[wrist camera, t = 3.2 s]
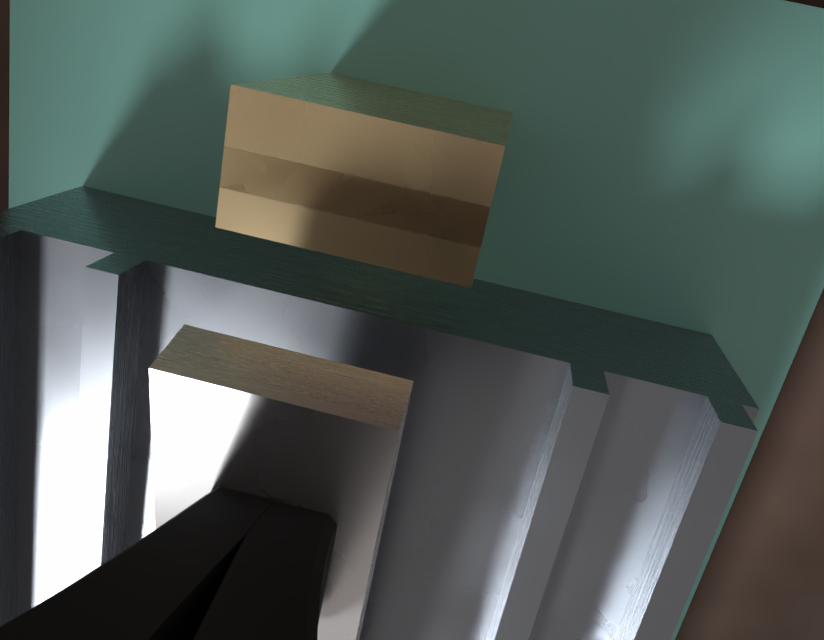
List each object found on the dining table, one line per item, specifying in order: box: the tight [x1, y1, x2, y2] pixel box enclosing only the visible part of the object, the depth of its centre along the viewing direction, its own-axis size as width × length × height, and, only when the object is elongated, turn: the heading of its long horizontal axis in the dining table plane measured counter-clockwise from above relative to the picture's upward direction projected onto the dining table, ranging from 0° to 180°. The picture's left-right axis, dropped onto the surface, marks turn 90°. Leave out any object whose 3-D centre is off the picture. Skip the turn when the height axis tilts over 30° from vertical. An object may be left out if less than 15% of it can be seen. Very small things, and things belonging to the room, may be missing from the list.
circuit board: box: [9, 0, 824, 640], centre depth 17 cm, size 15×24×1 cm, turn 169°
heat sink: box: [0, 73, 759, 640], centre depth 14 cm, size 12×17×5 cm
